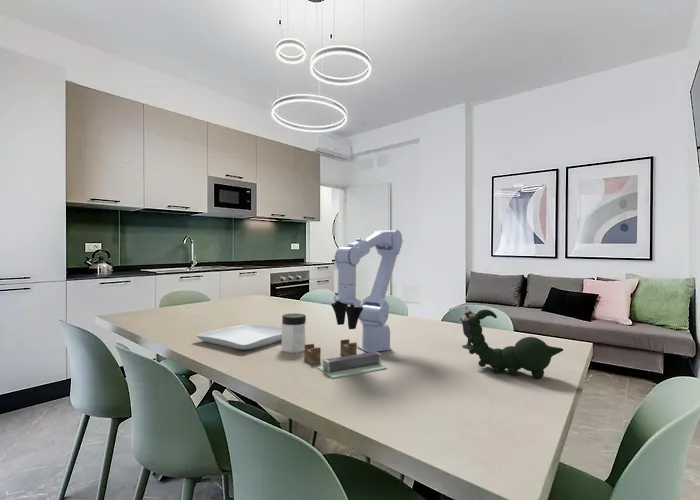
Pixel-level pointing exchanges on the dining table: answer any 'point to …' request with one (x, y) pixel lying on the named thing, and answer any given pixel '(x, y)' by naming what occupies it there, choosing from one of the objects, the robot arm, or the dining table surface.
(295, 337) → the jar
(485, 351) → the toy figurine
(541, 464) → the dining table surface
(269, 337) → the square plate
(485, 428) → the dining table surface
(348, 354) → the post
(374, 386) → the dining table surface
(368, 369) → the mat
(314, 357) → the post
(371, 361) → the rail
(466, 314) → the sundae
